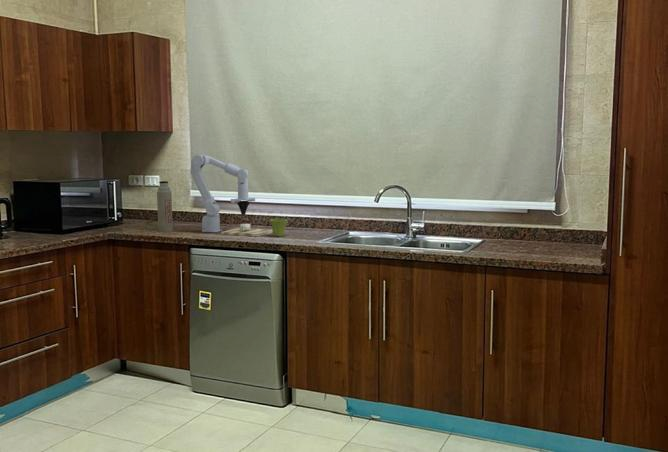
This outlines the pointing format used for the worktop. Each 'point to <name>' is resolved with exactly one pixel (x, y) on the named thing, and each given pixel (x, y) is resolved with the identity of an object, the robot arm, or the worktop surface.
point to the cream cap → (244, 227)
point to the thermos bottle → (164, 207)
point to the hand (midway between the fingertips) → (243, 214)
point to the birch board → (246, 232)
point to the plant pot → (278, 226)
